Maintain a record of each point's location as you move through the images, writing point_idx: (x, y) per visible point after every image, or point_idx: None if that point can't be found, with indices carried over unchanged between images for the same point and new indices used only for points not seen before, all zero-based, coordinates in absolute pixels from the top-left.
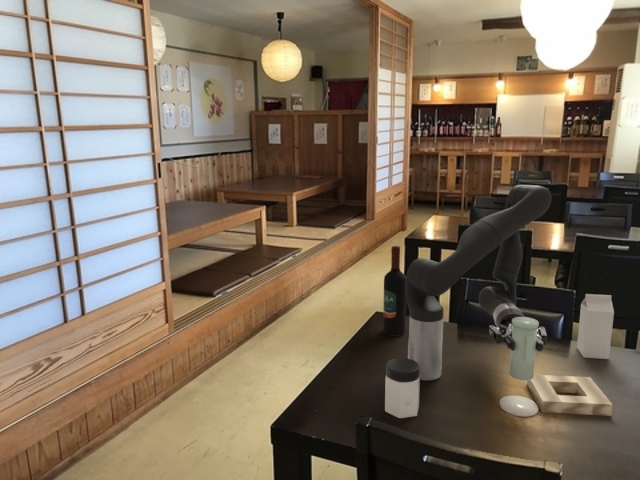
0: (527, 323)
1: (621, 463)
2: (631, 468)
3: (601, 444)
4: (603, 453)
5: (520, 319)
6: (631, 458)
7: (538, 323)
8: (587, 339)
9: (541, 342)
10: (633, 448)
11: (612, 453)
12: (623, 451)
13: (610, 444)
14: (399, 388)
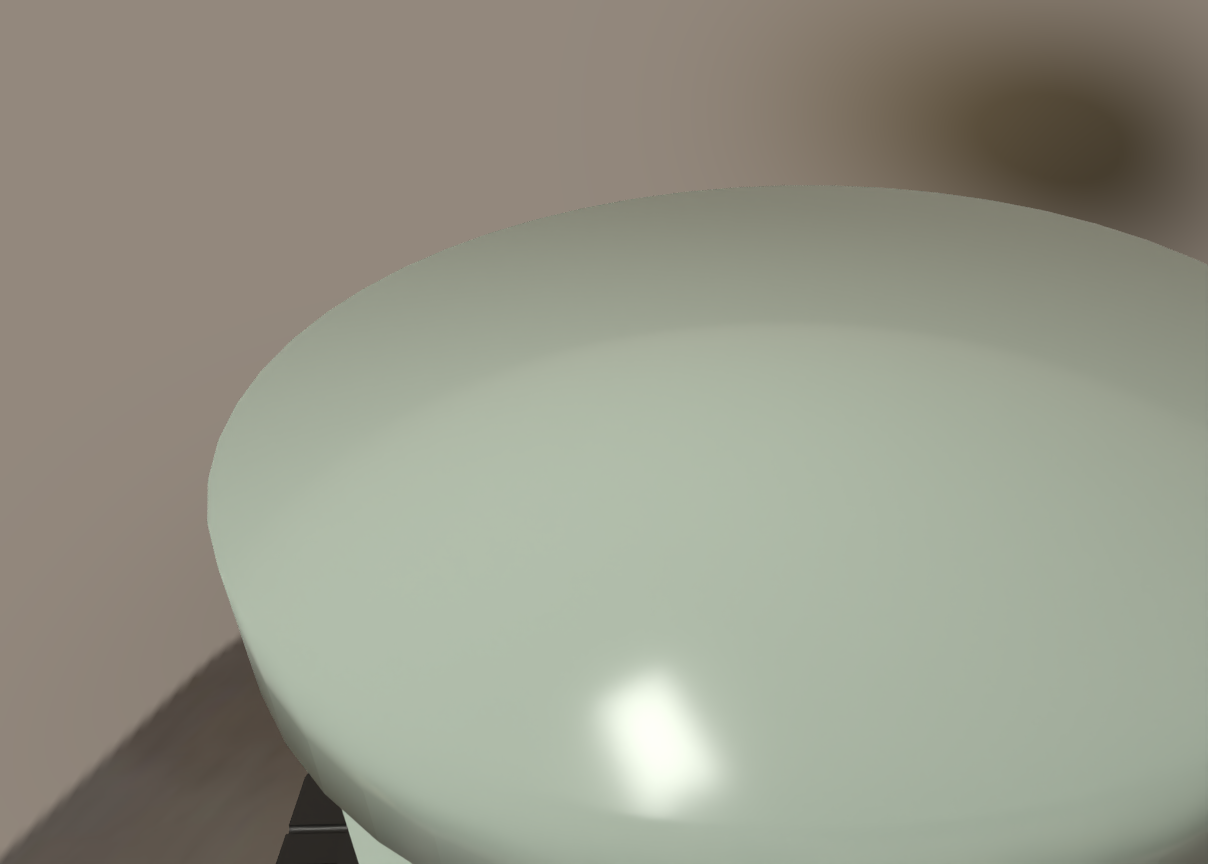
0: (722, 280)
1: (253, 683)
2: (229, 653)
3: (232, 848)
4: (294, 755)
5: (970, 487)
6: (149, 731)
7: (329, 319)
8: None
9: (328, 820)
10: (35, 830)
11: (232, 762)
12: (138, 790)
13: (163, 856)
14: None
